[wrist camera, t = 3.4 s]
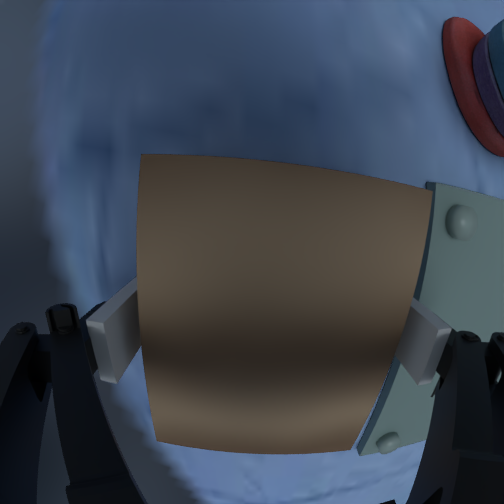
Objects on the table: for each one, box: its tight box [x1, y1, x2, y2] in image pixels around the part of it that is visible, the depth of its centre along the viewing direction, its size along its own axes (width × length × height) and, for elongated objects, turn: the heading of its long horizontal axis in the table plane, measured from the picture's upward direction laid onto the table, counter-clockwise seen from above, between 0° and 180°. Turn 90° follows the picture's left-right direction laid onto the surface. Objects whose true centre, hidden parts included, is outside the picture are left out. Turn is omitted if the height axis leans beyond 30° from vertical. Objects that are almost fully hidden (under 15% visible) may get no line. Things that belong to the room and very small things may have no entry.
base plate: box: [357, 182, 504, 456], centre depth 15 cm, size 22×22×2 cm
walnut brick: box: [136, 154, 433, 454], centre depth 13 cm, size 13×10×6 cm
